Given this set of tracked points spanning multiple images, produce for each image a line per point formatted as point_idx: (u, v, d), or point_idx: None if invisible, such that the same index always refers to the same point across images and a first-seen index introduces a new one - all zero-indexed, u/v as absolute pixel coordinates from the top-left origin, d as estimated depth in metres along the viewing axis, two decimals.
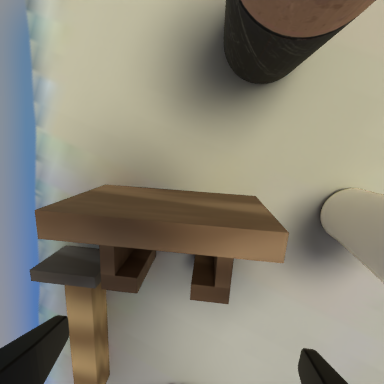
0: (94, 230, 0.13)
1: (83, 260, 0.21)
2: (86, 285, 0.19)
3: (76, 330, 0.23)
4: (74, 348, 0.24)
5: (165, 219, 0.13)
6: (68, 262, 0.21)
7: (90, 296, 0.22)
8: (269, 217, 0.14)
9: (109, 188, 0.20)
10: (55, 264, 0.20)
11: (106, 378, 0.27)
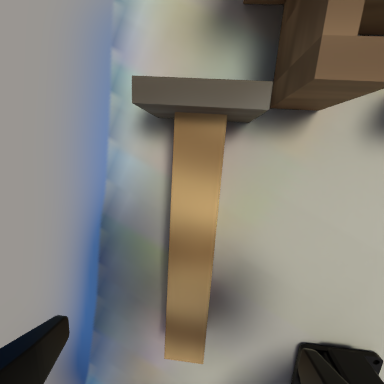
0: None
1: None
2: (250, 103, 0.09)
3: (183, 236, 0.13)
4: (174, 271, 0.14)
5: None
6: None
7: (220, 165, 0.12)
8: None
9: None
10: None
11: None
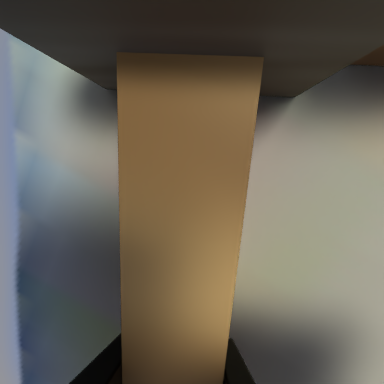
0: None
1: None
2: None
3: (152, 352, 0.06)
4: None
5: None
6: None
7: (240, 196, 0.05)
8: None
9: None
10: None
11: None
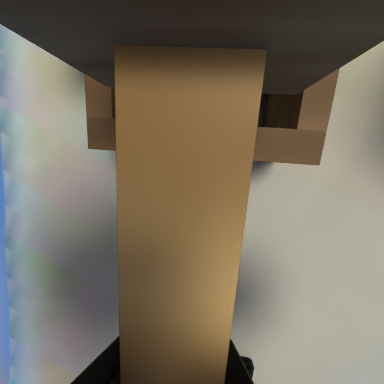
0: None
1: None
2: None
3: (151, 355, 0.06)
4: None
5: None
6: None
7: (242, 195, 0.04)
8: None
9: None
10: None
11: None
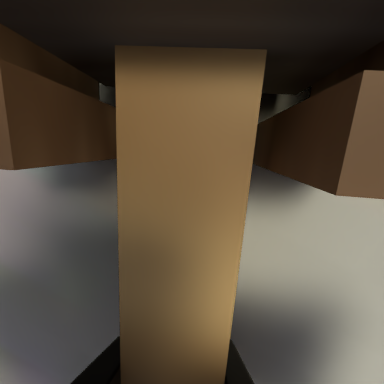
0: None
1: None
2: None
3: (152, 354, 0.06)
4: None
5: None
6: None
7: (242, 195, 0.04)
8: None
9: None
10: None
11: None
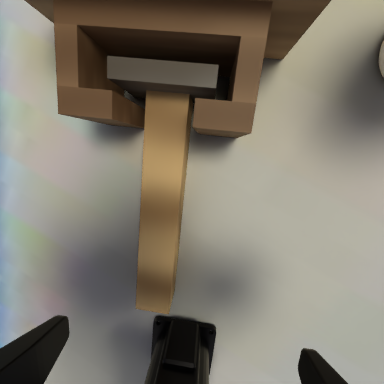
0: None
1: None
2: (201, 82, 0.12)
3: (152, 198, 0.15)
4: (144, 230, 0.16)
5: None
6: None
7: (183, 137, 0.14)
8: None
9: None
10: None
11: (173, 292, 0.20)
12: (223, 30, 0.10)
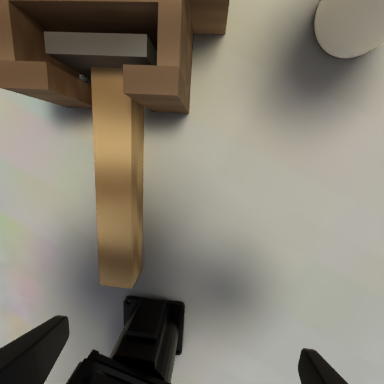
0: None
1: None
2: (132, 52, 0.12)
3: (106, 173, 0.16)
4: (101, 205, 0.17)
5: None
6: None
7: (129, 111, 0.15)
8: None
9: None
10: None
11: (139, 270, 0.20)
12: None
